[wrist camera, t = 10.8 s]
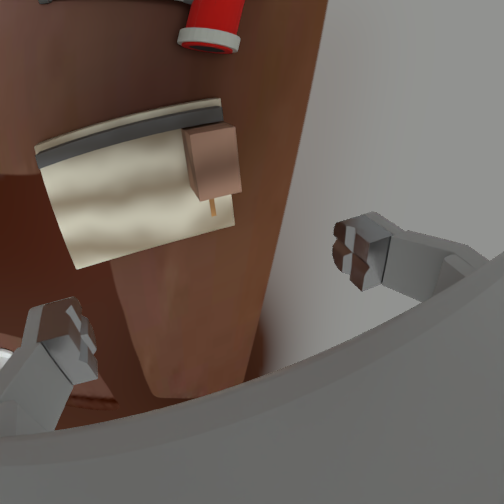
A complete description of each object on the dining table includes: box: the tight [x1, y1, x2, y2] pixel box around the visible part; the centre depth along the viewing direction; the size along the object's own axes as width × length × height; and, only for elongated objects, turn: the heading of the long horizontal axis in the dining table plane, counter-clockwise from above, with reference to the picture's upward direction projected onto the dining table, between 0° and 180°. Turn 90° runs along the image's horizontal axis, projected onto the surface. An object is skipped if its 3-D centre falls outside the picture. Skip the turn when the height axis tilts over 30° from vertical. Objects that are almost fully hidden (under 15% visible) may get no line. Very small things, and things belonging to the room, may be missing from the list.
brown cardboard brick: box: [181, 121, 242, 202], centre depth 32 cm, size 7×4×5 cm, turn 6°
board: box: [34, 98, 235, 269], centre depth 33 cm, size 16×21×4 cm
